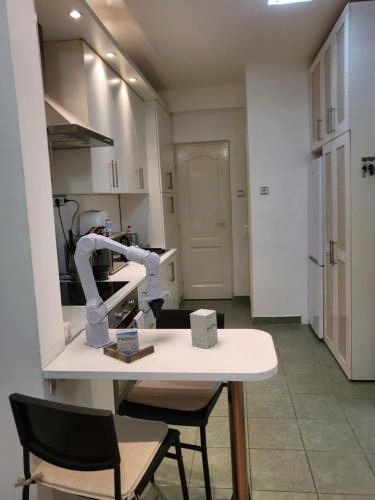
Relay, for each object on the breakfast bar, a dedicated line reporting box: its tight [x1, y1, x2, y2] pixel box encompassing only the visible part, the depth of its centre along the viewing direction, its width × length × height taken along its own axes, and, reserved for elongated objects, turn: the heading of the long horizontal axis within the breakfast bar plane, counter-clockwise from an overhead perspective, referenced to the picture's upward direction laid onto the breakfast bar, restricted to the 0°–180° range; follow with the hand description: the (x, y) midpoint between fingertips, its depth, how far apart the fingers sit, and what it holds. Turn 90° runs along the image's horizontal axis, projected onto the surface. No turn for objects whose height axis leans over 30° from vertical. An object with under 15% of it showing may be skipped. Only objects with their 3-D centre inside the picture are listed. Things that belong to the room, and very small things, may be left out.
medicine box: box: [115, 327, 140, 355], centre depth 153 cm, size 8×4×9 cm, turn 99°
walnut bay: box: [102, 341, 155, 364], centre depth 153 cm, size 15×12×2 cm
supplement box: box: [189, 308, 219, 349], centre depth 155 cm, size 7×7×13 cm
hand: (157, 317), depth 162 cm, fingers closed
